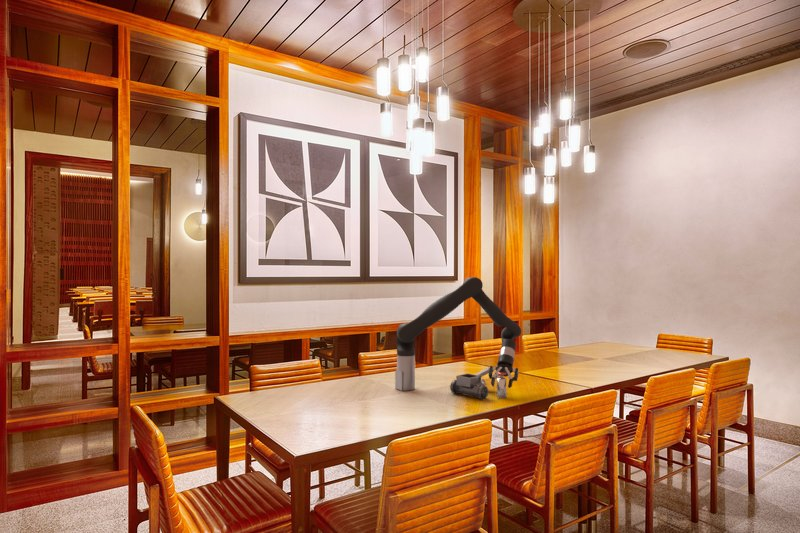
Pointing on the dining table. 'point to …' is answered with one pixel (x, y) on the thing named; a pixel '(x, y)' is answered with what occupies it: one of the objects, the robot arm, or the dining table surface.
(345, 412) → the dining table surface
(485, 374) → the door handle
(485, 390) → the grey toy rover
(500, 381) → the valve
